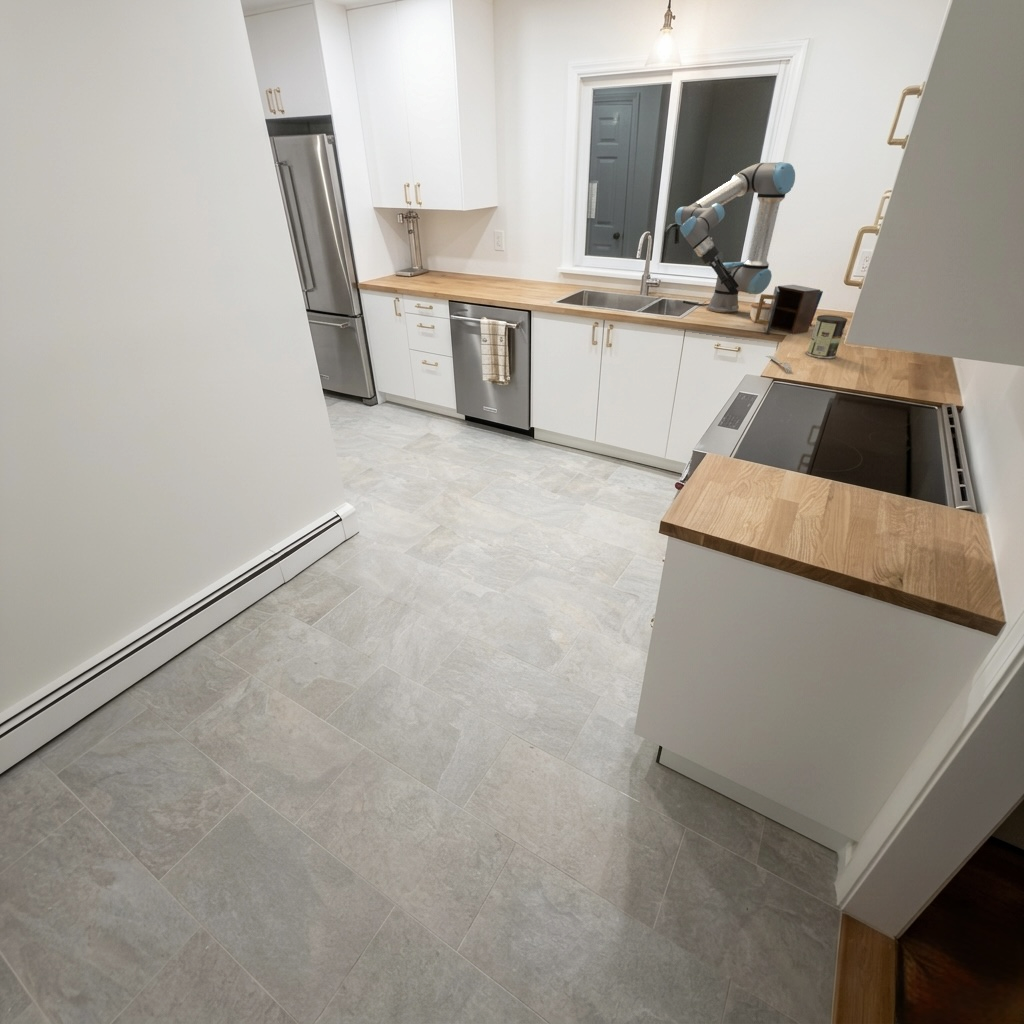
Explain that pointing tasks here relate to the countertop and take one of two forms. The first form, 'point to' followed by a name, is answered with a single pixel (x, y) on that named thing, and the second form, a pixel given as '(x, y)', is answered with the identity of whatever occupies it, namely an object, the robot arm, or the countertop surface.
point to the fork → (781, 363)
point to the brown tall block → (817, 304)
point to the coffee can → (826, 336)
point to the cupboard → (794, 308)
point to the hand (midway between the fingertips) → (735, 290)
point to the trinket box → (763, 311)
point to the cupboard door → (771, 310)
